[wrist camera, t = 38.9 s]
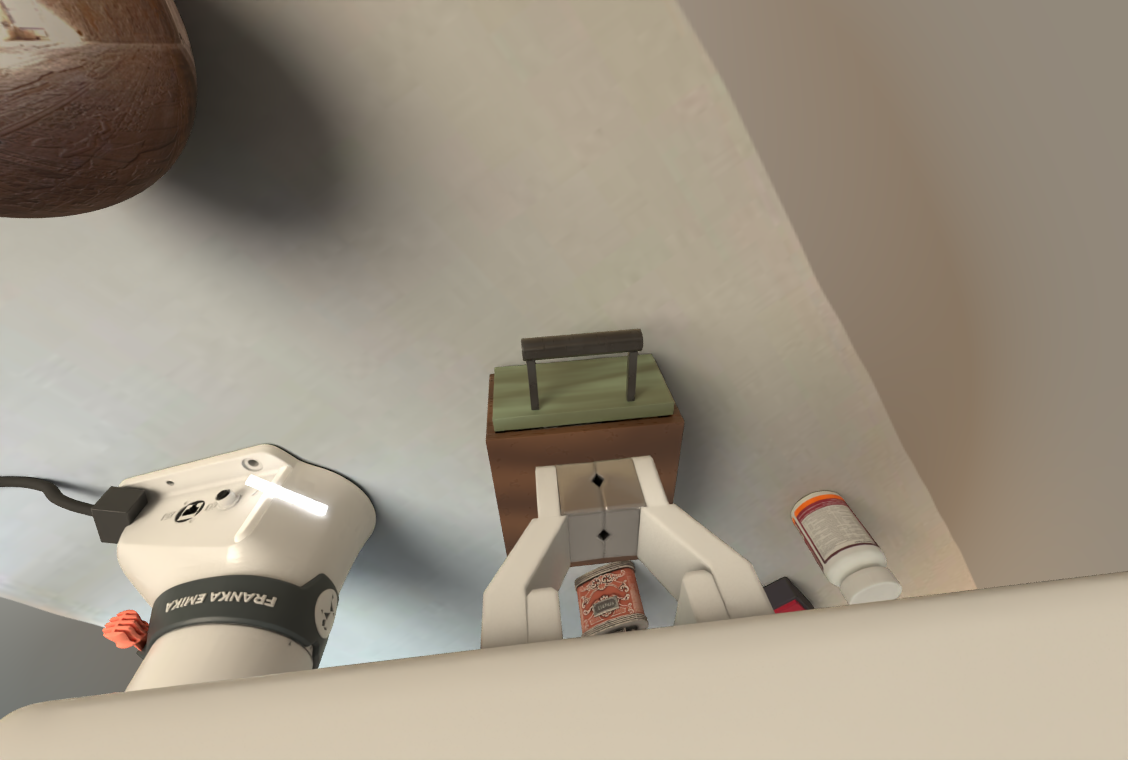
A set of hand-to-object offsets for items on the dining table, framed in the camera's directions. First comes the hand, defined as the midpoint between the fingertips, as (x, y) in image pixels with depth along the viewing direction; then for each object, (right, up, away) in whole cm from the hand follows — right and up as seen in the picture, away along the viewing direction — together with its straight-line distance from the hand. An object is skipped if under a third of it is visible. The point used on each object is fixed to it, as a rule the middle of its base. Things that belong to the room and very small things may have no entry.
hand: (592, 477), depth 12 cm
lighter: (+4, -22, +47) cm, 52 cm away
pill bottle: (+29, -12, +43) cm, 53 cm away
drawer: (0, 0, +30) cm, 30 cm away
